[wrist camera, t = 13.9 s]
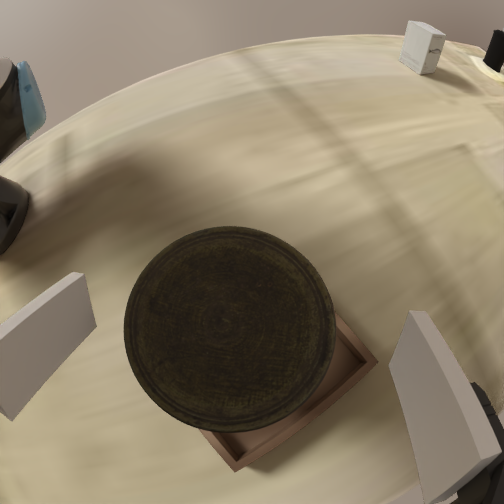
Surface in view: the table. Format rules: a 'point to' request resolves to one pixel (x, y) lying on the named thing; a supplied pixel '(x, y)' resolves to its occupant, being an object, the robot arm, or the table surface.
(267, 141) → the table surface
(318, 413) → the walnut tray
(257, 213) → the table surface
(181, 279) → the container
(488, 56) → the aerosol can
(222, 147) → the table surface
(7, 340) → the robot arm
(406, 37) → the supplement box
